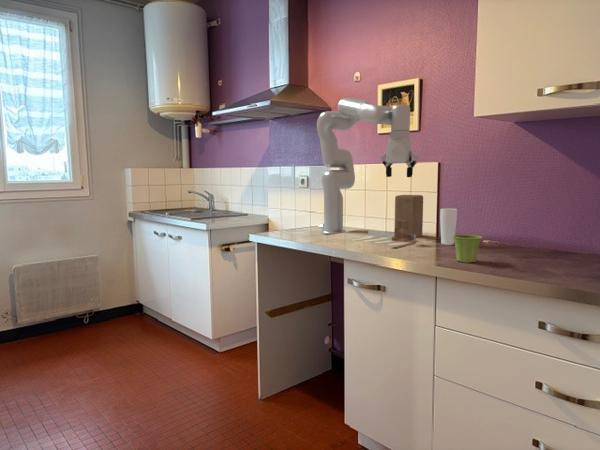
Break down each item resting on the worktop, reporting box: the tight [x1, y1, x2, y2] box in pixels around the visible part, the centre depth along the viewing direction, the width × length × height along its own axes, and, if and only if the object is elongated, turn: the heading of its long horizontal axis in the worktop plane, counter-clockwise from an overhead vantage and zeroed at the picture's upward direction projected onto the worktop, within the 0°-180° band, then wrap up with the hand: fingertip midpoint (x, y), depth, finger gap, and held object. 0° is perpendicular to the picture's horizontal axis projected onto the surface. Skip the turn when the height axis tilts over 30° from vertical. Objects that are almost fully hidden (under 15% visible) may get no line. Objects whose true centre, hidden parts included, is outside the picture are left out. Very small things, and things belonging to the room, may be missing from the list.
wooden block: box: [394, 194, 424, 238], centre depth 200 cm, size 10×10×20 cm
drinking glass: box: [439, 207, 458, 246], centre depth 185 cm, size 7×7×15 cm
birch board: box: [349, 229, 417, 250], centre depth 188 cm, size 23×16×4 cm
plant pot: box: [452, 234, 483, 264], centre depth 150 cm, size 9×9×9 cm
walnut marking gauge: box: [392, 220, 410, 242], centre depth 186 cm, size 6×5×8 cm
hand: (398, 177), depth 185 cm, fingers open, 9 cm apart
